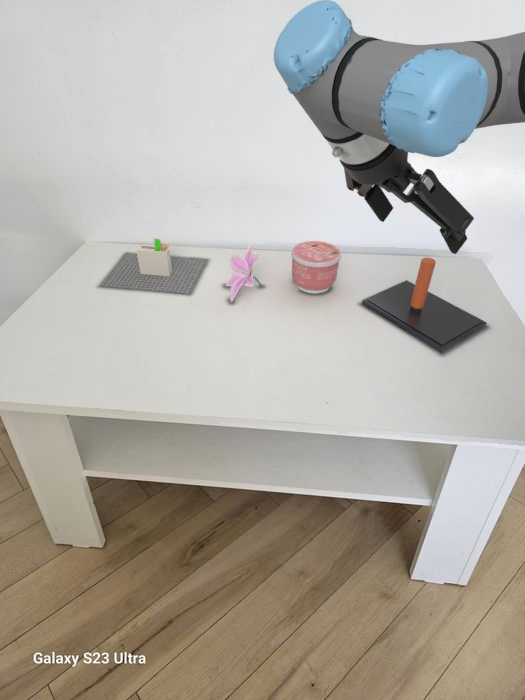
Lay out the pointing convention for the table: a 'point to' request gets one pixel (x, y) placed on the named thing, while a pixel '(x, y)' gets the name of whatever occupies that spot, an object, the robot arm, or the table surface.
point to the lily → (242, 271)
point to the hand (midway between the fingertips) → (420, 229)
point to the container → (315, 265)
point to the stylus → (422, 284)
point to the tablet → (425, 316)
